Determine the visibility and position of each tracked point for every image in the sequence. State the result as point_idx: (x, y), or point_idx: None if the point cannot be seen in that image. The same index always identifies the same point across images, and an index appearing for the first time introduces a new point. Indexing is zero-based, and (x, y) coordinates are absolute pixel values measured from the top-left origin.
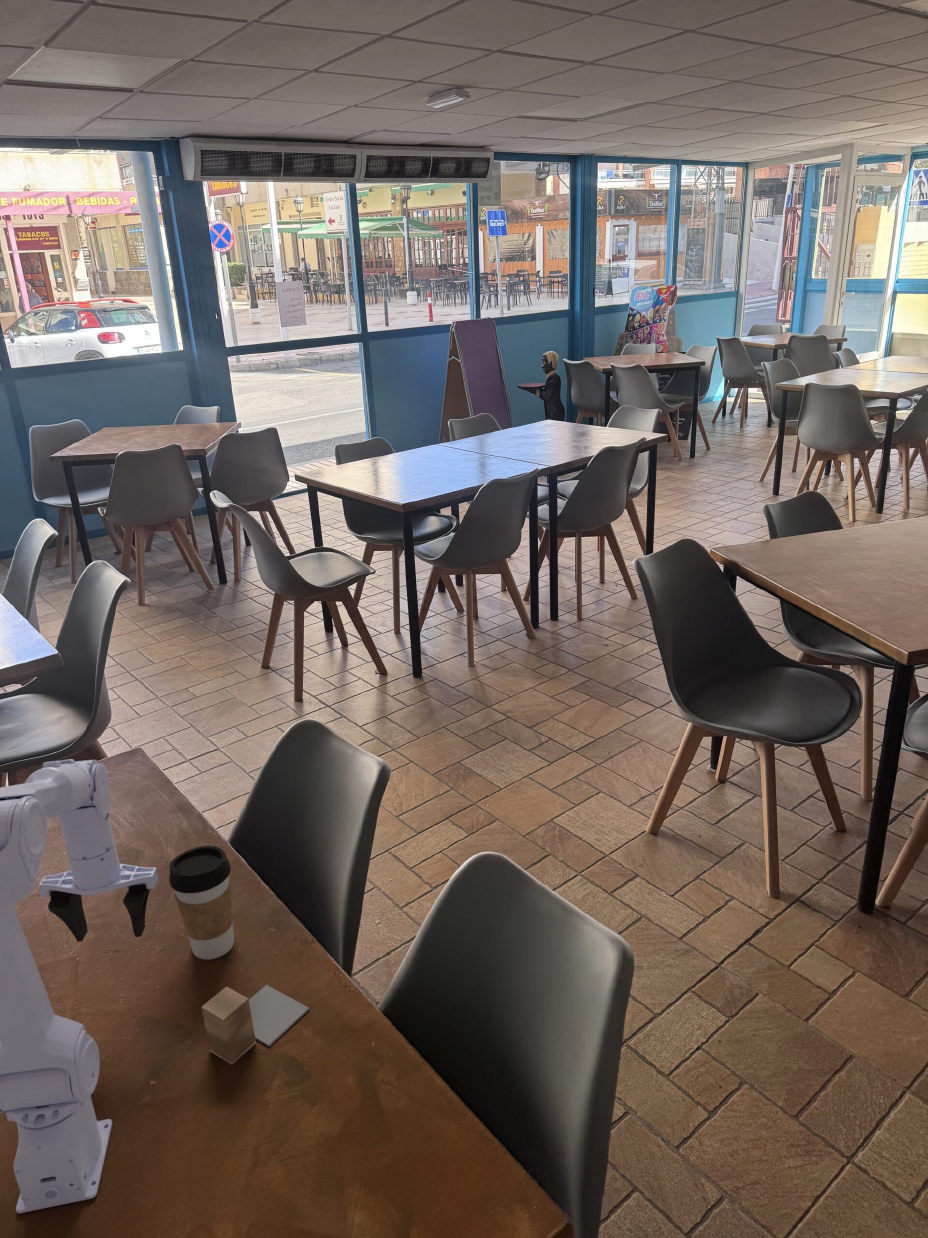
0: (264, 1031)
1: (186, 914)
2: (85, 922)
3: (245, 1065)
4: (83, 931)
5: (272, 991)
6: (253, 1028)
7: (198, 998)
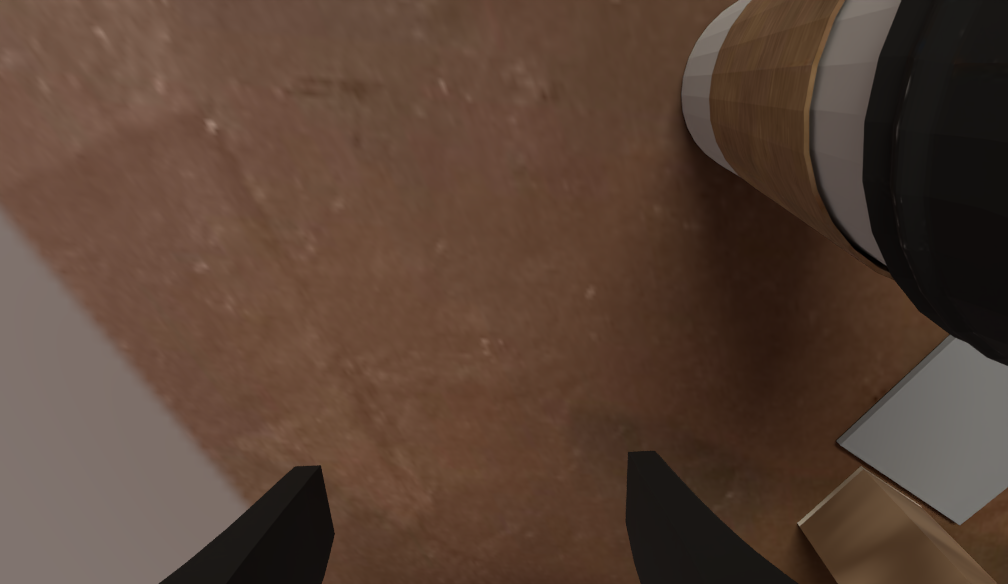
0: (952, 487)
1: (833, 242)
2: (296, 504)
3: None
4: (316, 528)
5: None
6: (958, 544)
7: (740, 351)
